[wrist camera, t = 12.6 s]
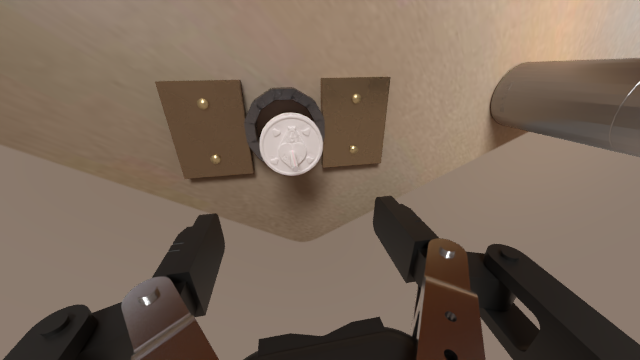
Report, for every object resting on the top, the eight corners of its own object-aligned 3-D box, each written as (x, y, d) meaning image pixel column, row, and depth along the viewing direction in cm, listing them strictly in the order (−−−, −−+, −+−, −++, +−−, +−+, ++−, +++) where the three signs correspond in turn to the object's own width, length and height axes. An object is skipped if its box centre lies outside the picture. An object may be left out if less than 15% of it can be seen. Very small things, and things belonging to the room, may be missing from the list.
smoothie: (265, 149, 32) (259, 199, 19) (261, 101, 29) (250, 124, 17) (310, 148, 33) (331, 194, 20) (310, 101, 30) (335, 122, 18)
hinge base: (386, 76, 30) (395, 77, 28) (377, 160, 36) (384, 166, 33) (160, 81, 26) (149, 82, 24) (187, 175, 31) (181, 183, 29)
